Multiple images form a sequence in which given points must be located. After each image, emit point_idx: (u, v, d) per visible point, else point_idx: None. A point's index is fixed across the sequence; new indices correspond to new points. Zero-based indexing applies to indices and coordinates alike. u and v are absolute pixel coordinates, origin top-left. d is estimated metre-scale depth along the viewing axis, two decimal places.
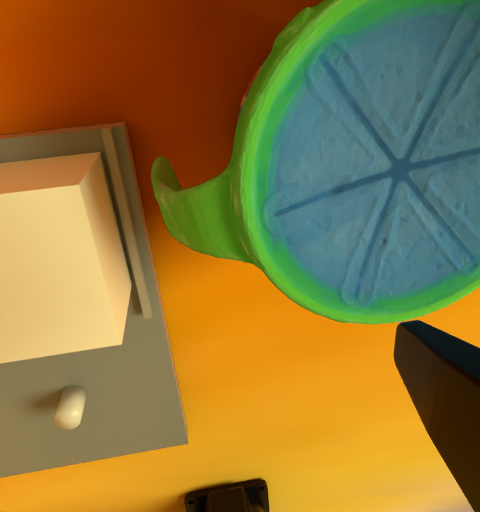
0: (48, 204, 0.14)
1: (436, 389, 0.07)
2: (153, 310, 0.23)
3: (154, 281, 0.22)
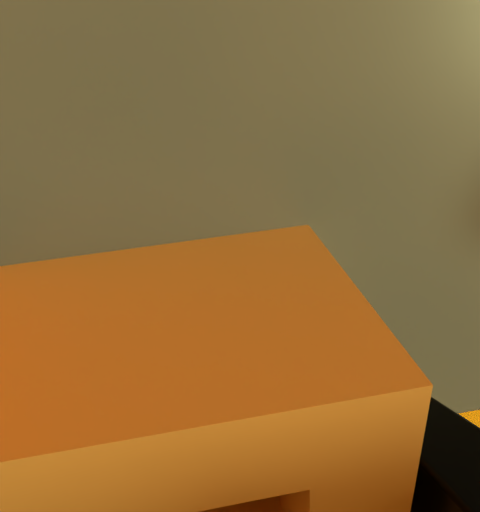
0: None
1: None
2: None
3: None
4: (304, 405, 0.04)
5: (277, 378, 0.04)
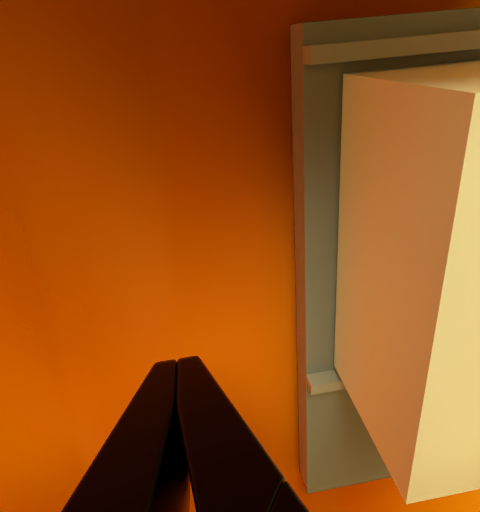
0: None
1: None
2: None
3: None
4: None
5: None
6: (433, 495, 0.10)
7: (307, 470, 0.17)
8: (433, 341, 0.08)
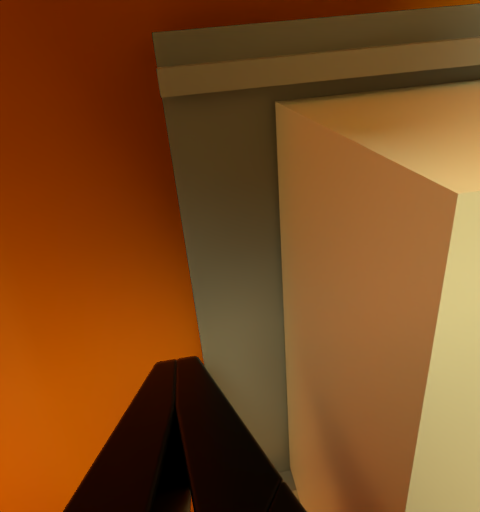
0: None
1: None
2: None
3: None
4: None
5: None
6: None
7: None
8: None
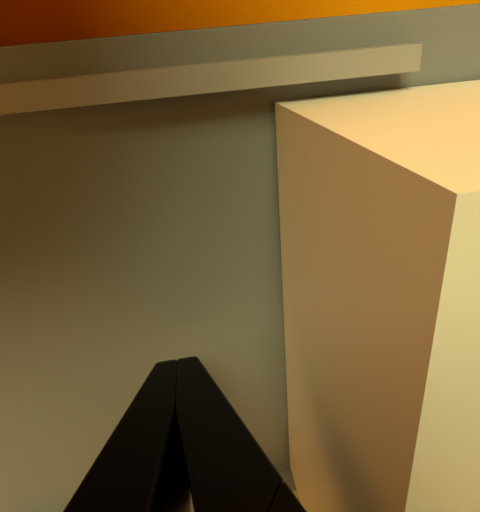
0: None
1: None
2: (401, 38, 0.07)
3: (298, 22, 0.07)
4: None
5: None
6: None
7: None
8: None
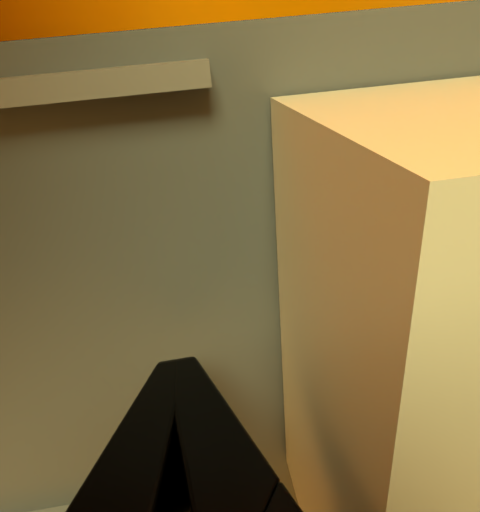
0: (478, 316, 0.03)
1: None
2: (202, 52, 0.07)
3: (86, 37, 0.07)
4: None
5: None
6: None
7: None
8: None
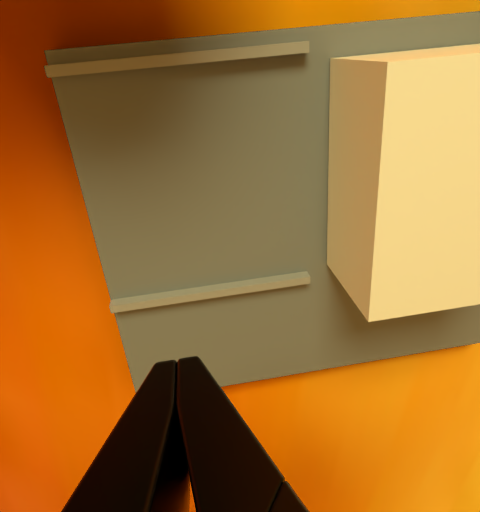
0: (401, 101, 0.13)
1: None
2: (303, 38, 0.17)
3: (258, 32, 0.16)
4: None
5: None
6: (385, 318, 0.17)
7: (133, 380, 0.23)
8: (377, 203, 0.14)
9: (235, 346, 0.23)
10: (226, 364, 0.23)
